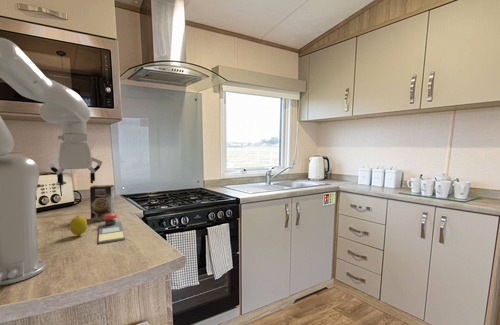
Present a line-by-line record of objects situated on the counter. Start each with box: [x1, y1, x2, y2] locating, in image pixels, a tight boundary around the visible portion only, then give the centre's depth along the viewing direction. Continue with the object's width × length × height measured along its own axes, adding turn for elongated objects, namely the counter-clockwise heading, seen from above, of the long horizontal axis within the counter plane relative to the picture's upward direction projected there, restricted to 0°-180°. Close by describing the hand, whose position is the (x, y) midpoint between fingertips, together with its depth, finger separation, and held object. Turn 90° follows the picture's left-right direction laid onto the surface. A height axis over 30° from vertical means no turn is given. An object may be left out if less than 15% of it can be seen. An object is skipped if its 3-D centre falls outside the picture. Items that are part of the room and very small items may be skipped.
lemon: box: [69, 215, 88, 237], centre depth 97 cm, size 6×6×8 cm
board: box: [97, 218, 126, 245], centre depth 101 cm, size 26×8×2 cm, turn 30°
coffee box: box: [89, 184, 116, 222], centre depth 121 cm, size 9×6×16 cm
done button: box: [104, 212, 118, 221], centre depth 109 cm, size 5×5×2 cm
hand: (77, 183), depth 96 cm, fingers open, 9 cm apart
